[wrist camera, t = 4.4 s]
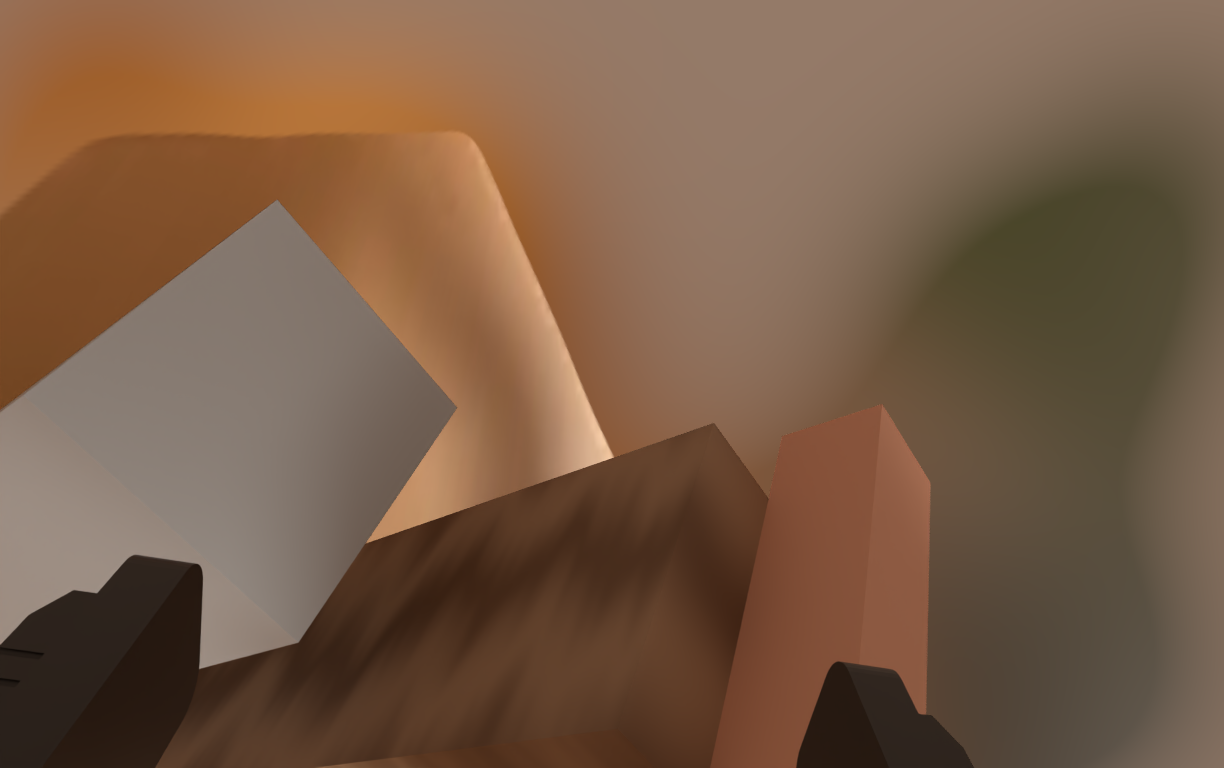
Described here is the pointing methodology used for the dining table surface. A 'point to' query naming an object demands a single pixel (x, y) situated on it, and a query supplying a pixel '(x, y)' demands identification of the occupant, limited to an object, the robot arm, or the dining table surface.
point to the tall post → (514, 632)
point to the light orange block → (829, 583)
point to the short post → (218, 442)
